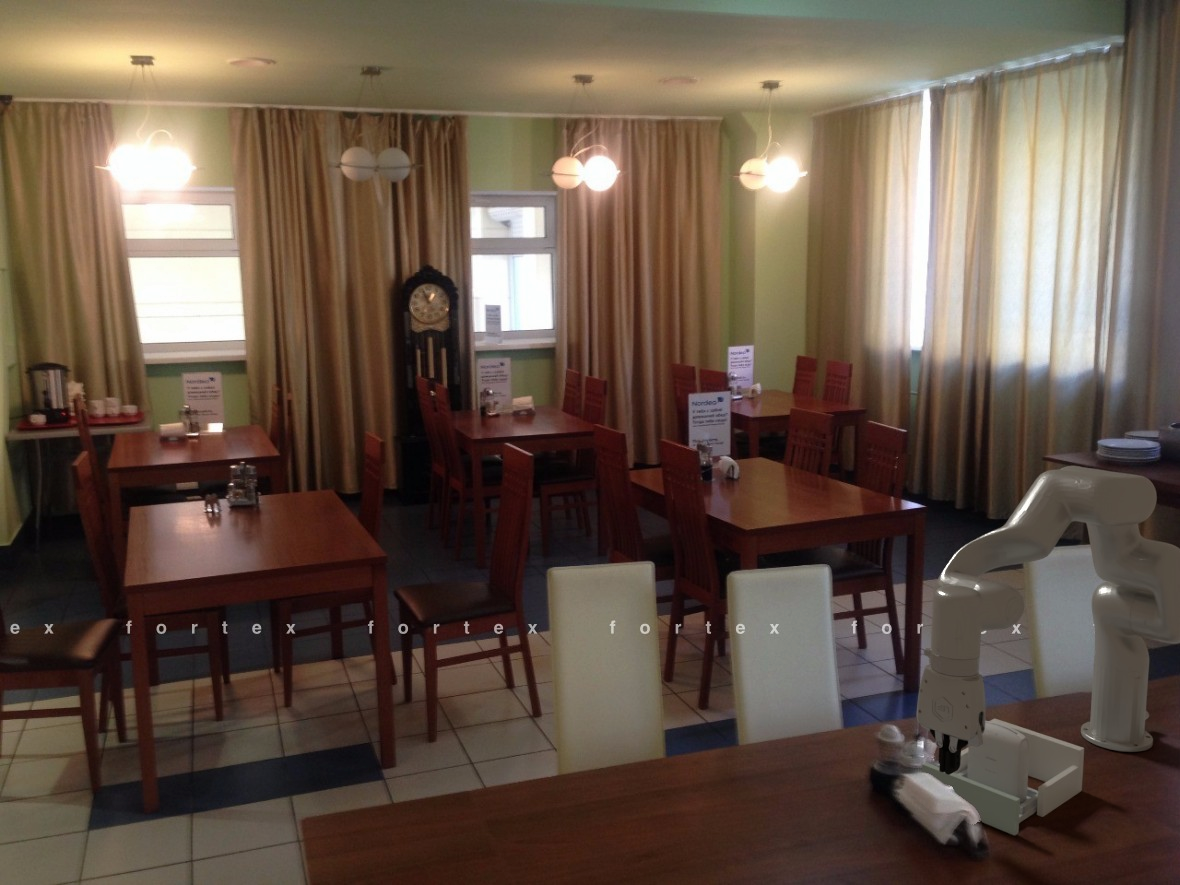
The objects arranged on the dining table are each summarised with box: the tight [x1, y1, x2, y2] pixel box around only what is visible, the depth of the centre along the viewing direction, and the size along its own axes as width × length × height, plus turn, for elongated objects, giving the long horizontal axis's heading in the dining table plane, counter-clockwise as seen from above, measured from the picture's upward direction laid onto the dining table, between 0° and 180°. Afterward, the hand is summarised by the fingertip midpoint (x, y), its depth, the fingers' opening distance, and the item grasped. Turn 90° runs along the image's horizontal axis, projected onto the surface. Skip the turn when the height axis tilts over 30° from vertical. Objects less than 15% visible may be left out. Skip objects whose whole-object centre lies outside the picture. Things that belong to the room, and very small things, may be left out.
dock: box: [953, 717, 1085, 818], centre depth 183 cm, size 14×17×8 cm
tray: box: [921, 762, 1038, 836], centre depth 177 cm, size 14×17×6 cm
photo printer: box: [967, 720, 1029, 803], centre depth 178 cm, size 10×4×12 cm, turn 39°
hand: (948, 770), depth 168 cm, fingers closed
